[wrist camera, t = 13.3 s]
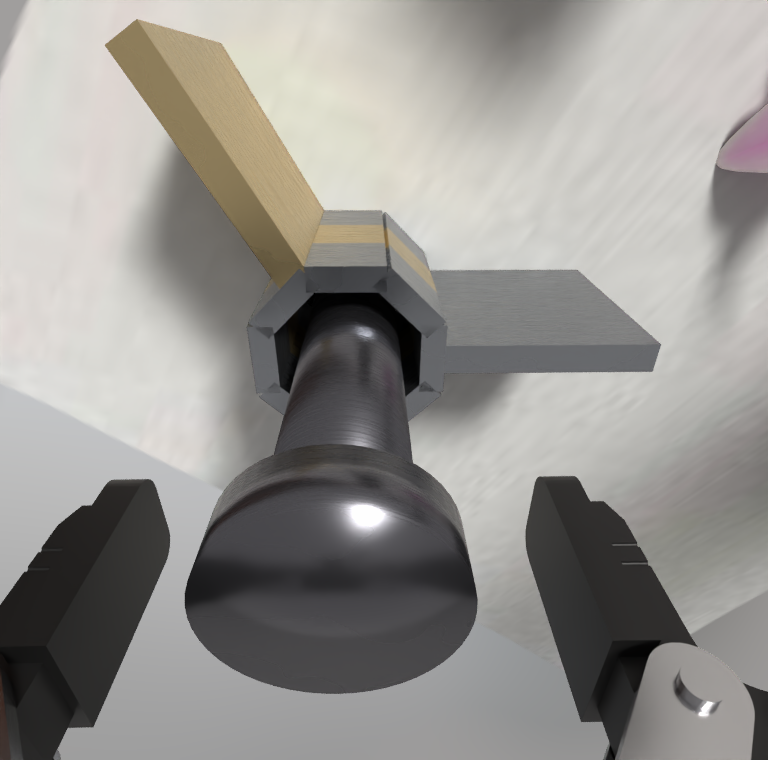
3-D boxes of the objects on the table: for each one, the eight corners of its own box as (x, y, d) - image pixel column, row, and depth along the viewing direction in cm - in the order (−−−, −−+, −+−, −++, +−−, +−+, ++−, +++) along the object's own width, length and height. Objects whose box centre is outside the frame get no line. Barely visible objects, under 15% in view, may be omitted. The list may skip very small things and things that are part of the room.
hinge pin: (411, 226, 21) (493, 506, 7) (408, 329, 24) (465, 690, 10) (298, 227, 21) (154, 511, 7) (306, 330, 24) (212, 697, 9)
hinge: (623, 45, 18) (762, 23, 12) (562, 342, 24) (632, 434, 18) (196, 43, 18) (98, 19, 11) (243, 344, 24) (196, 440, 18)
